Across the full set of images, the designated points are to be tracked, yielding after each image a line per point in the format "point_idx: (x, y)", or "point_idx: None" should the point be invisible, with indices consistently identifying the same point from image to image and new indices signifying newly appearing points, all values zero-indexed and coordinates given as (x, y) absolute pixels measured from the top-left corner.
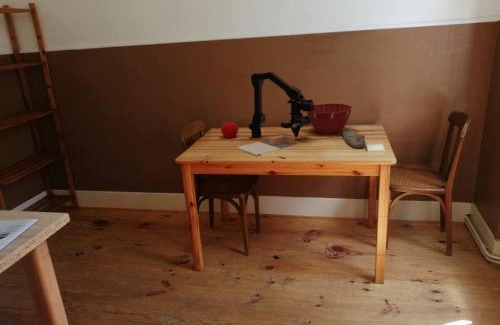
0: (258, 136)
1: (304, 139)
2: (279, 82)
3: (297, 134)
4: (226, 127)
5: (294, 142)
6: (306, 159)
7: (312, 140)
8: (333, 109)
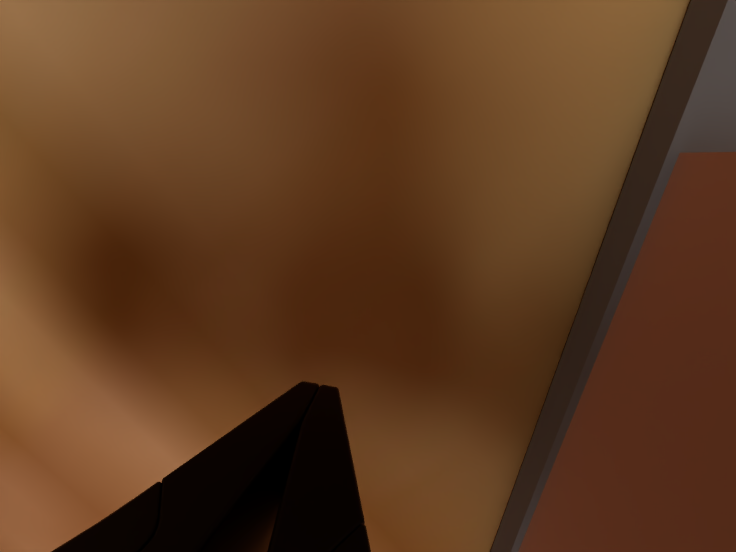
0: None
1: (154, 288)
2: None
3: (282, 425)
4: None
5: (713, 156)
6: None
7: (68, 82)
8: None
